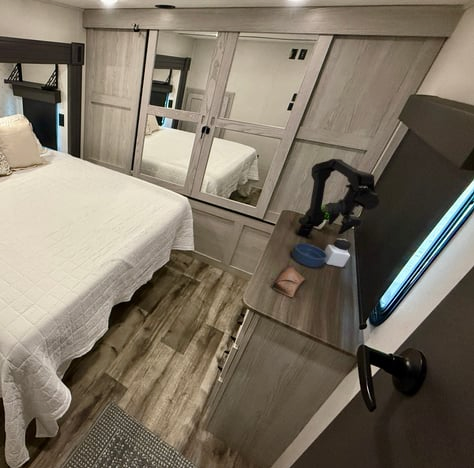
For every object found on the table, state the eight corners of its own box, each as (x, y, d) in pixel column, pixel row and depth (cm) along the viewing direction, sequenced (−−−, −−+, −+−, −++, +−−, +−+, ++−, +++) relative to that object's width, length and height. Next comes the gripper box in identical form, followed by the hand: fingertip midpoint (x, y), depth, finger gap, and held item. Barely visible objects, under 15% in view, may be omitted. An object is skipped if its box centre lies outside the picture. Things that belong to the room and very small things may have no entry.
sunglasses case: (294, 298, 110) (290, 282, 109) (274, 296, 116) (271, 281, 115) (306, 278, 122) (303, 264, 120) (288, 278, 127) (285, 264, 126)
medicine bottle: (343, 267, 131) (356, 246, 125) (326, 264, 133) (338, 243, 127) (337, 259, 137) (349, 238, 131) (321, 256, 139) (332, 235, 133)
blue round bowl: (292, 248, 143) (296, 240, 141) (322, 258, 137) (327, 249, 135) (289, 260, 134) (294, 252, 131) (322, 271, 128) (327, 262, 125)
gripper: (322, 190, 137) (308, 218, 145) (343, 206, 121) (326, 236, 129) (346, 193, 136) (330, 221, 144) (371, 209, 120) (352, 240, 128)
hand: (334, 229), depth 136 cm, fingers open, 9 cm apart
